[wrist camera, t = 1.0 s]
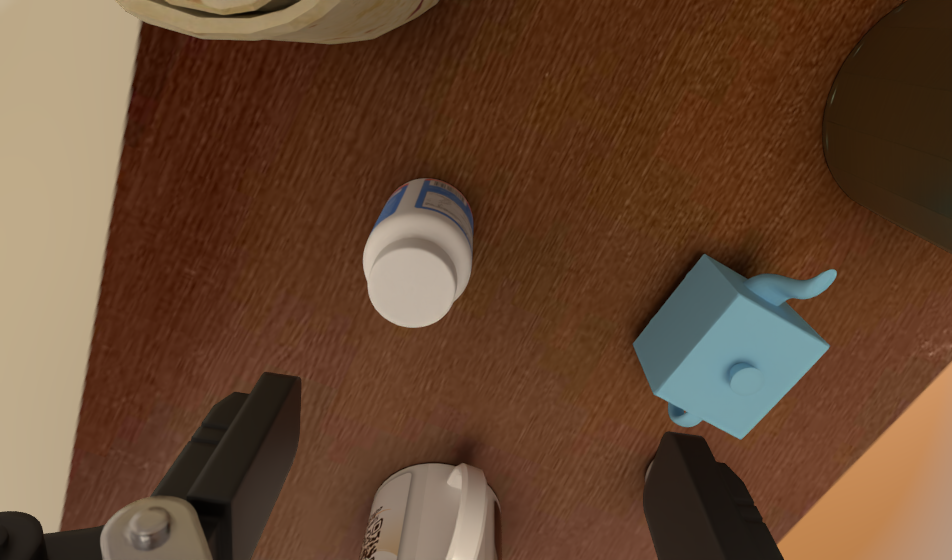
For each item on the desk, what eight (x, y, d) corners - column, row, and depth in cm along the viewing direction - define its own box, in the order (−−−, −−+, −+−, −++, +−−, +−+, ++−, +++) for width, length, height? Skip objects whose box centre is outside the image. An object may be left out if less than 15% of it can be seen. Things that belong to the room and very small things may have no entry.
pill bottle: (399, 270, 37) (369, 352, 28) (372, 188, 35) (330, 248, 26) (485, 251, 36) (482, 329, 27) (462, 166, 34) (451, 220, 25)
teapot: (735, 200, 34) (795, 247, 28) (815, 249, 36) (892, 306, 29) (615, 353, 39) (642, 426, 32) (690, 393, 40) (730, 472, 33)
